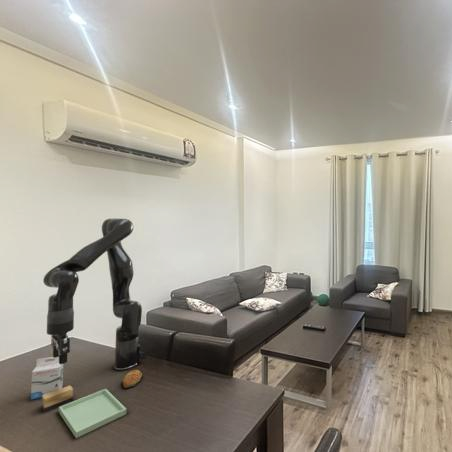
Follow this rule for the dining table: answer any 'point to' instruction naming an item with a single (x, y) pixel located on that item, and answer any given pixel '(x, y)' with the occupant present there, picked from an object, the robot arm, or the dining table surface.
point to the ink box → (46, 377)
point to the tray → (91, 412)
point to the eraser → (57, 398)
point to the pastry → (132, 378)
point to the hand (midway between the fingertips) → (59, 359)
